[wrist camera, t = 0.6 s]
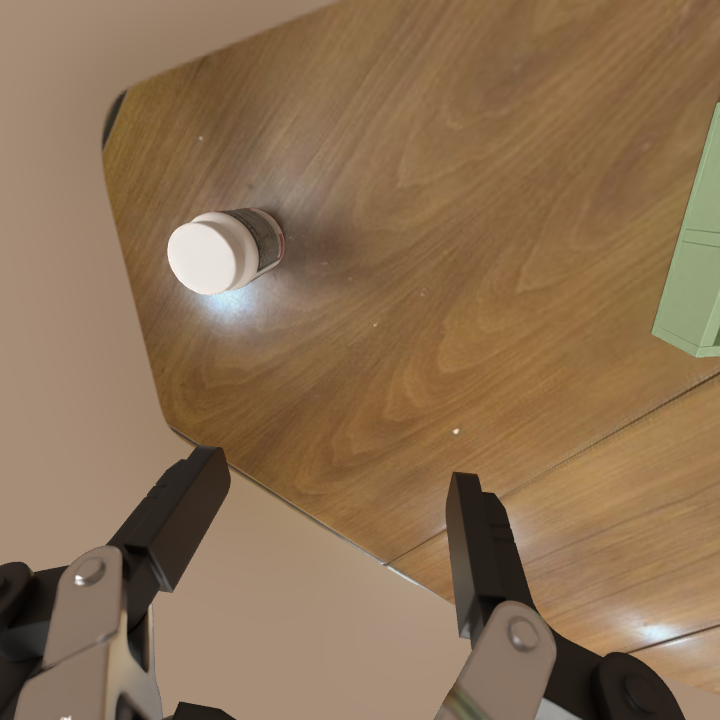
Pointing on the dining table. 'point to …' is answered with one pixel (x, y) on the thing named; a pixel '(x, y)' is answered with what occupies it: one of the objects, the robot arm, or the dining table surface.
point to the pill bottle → (225, 249)
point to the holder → (696, 263)
